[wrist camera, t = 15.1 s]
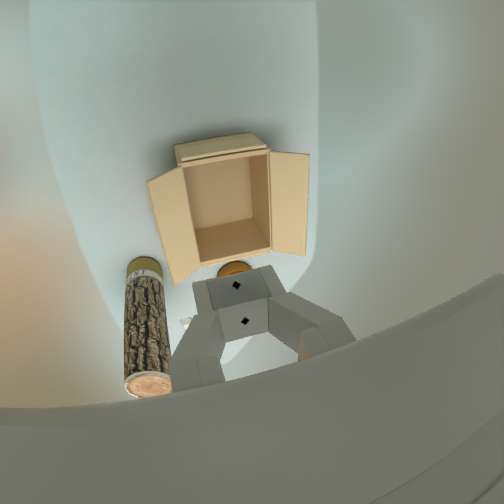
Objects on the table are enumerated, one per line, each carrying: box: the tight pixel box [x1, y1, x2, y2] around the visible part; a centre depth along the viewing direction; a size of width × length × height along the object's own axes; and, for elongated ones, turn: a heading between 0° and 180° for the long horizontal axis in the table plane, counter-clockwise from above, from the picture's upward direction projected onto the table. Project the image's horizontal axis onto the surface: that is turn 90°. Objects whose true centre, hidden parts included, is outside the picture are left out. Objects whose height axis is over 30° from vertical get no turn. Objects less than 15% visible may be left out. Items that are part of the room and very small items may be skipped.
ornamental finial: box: [217, 262, 252, 277], centre depth 57 cm, size 8×8×8 cm
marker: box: [181, 317, 191, 331], centre depth 68 cm, size 3×2×16 cm
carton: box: [174, 132, 273, 268], centre depth 44 cm, size 17×12×10 cm
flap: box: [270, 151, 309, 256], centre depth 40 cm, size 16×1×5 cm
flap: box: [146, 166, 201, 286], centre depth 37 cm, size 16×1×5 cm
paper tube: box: [124, 257, 172, 398], centre depth 44 cm, size 7×7×25 cm
